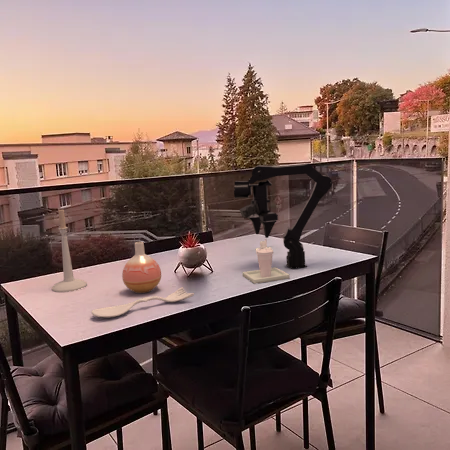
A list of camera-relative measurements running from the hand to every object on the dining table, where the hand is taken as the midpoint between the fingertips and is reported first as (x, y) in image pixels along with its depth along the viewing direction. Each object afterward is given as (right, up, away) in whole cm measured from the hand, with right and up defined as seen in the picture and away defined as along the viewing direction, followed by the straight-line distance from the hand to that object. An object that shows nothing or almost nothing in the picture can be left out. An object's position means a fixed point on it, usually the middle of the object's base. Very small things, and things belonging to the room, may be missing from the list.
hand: (261, 236), depth 186 cm
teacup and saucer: (+2, -8, +34) cm, 35 cm away
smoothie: (0, -15, -12) cm, 19 cm away
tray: (0, -15, -12) cm, 20 cm away
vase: (-44, -19, -20) cm, 52 cm away
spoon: (-41, -22, -39) cm, 61 cm away
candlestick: (-74, -19, -10) cm, 77 cm away
